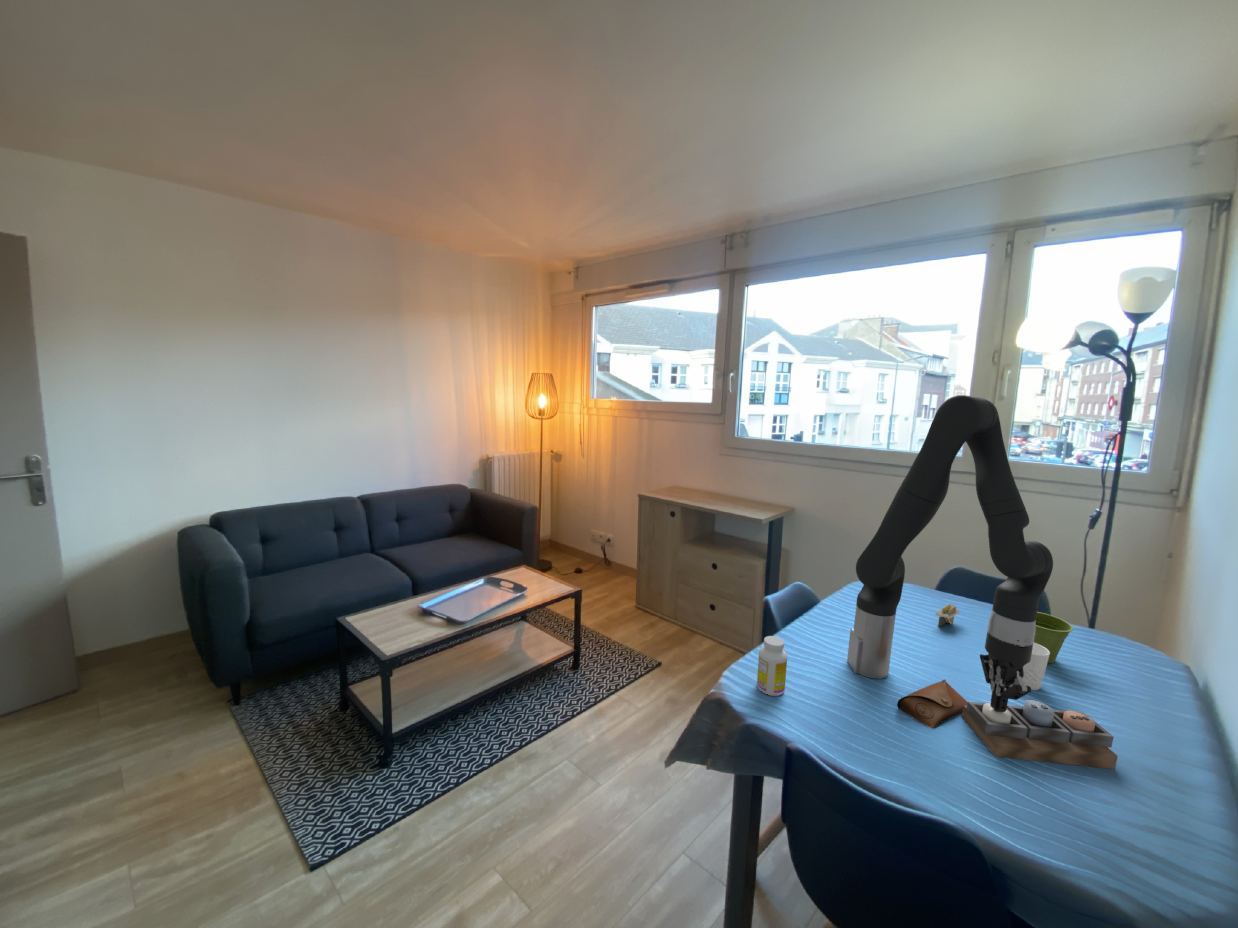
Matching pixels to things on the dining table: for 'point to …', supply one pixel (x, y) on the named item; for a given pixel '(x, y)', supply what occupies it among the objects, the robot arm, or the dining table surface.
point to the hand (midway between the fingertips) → (997, 709)
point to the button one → (996, 715)
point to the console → (1041, 739)
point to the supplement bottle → (772, 666)
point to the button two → (1038, 713)
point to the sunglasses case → (933, 704)
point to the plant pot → (1051, 633)
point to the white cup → (1036, 667)
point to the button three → (1079, 721)
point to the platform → (947, 614)
